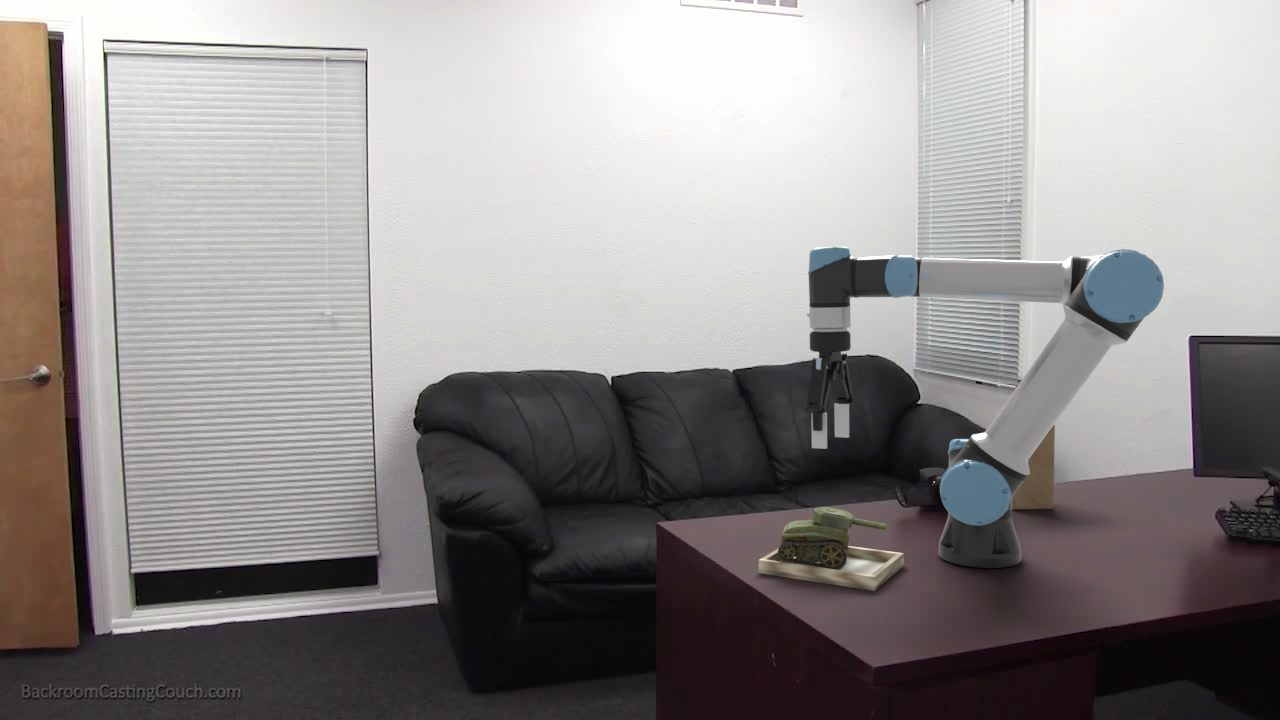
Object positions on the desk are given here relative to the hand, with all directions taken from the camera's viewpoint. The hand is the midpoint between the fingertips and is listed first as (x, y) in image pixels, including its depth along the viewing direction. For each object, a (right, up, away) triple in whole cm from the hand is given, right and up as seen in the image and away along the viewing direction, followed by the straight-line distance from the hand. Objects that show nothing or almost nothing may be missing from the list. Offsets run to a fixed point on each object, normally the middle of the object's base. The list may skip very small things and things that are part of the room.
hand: (831, 442), depth 187 cm
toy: (-1, -23, -2) cm, 23 cm away
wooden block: (+55, -19, +47) cm, 75 cm away
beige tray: (0, -24, -2) cm, 24 cm away
